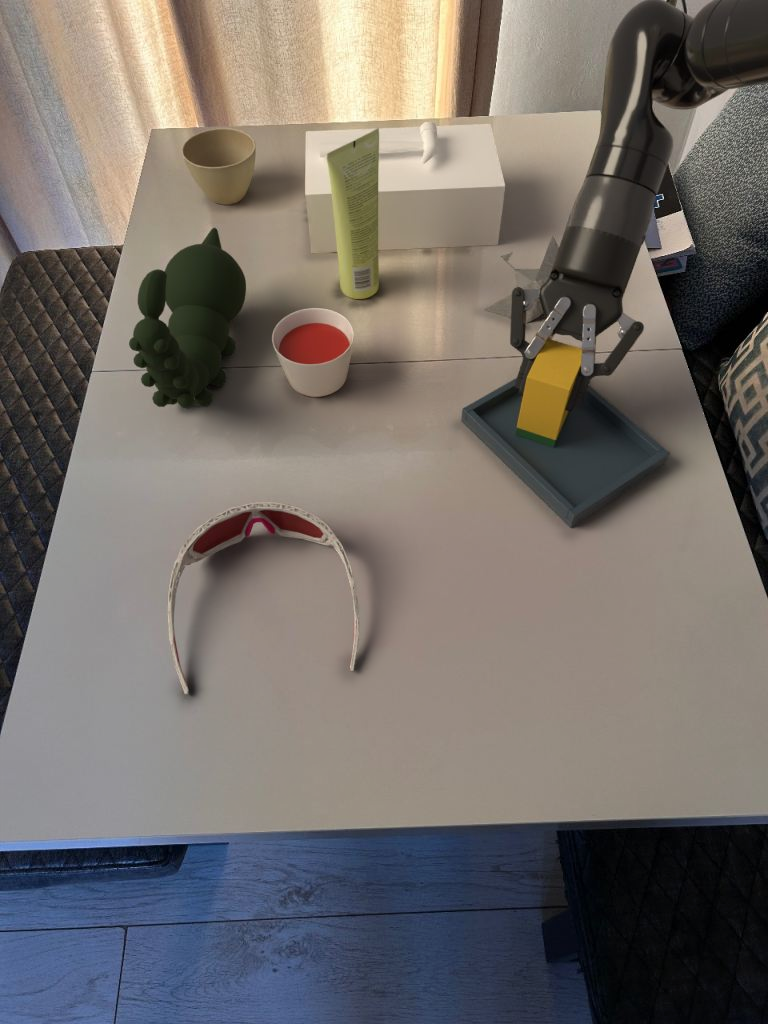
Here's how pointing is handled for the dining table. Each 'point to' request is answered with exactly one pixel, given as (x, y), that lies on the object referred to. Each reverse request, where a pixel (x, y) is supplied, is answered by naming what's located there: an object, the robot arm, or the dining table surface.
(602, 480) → the tray
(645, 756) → the dining table surface
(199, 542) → the sunglasses
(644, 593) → the dining table surface
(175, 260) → the toy figurine
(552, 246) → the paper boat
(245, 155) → the flower pot
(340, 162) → the tube
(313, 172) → the tissue box
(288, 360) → the white round cup
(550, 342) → the sponge
